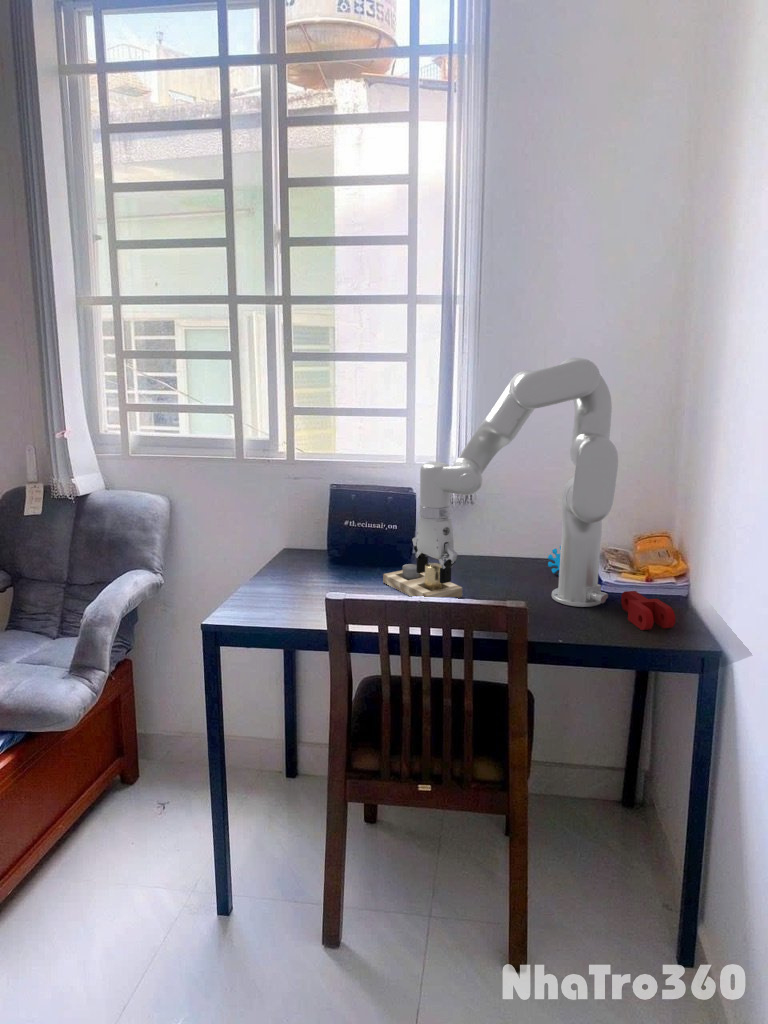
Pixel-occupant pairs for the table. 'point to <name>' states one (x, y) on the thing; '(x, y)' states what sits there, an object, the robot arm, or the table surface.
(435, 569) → the gold metallic cylinder
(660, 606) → the mechanical linkage
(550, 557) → the gear
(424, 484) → the robot arm
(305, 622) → the table surface
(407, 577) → the jig
